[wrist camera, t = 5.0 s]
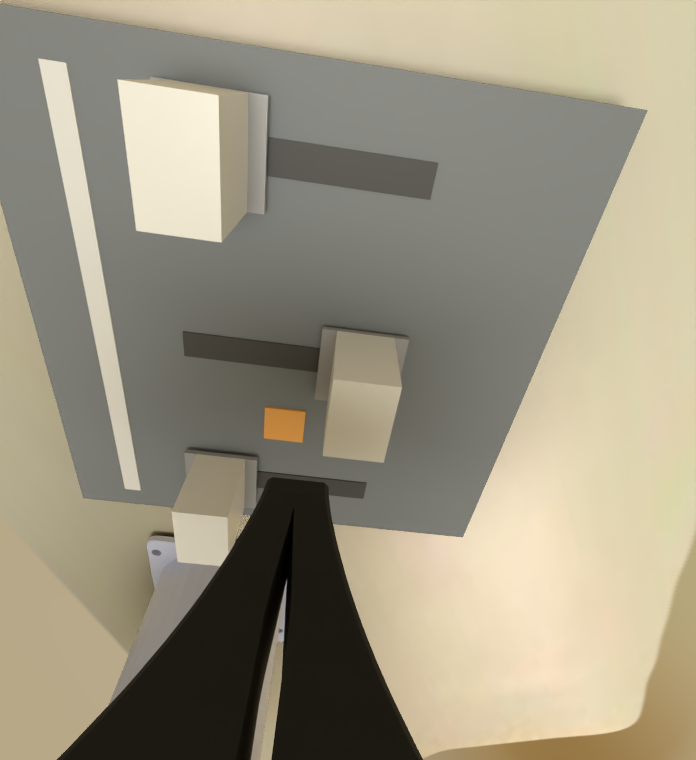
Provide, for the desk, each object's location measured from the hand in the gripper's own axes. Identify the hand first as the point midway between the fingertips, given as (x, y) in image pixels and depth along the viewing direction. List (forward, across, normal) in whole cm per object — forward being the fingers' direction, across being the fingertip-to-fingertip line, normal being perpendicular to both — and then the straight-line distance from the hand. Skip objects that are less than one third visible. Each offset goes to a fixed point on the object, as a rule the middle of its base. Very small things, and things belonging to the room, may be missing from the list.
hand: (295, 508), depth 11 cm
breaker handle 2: (+7, +4, +6) cm, 10 cm away
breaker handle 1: (+7, +3, -6) cm, 10 cm away
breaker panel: (+8, +1, 0) cm, 8 cm away
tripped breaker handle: (+7, -2, 0) cm, 7 cm away
